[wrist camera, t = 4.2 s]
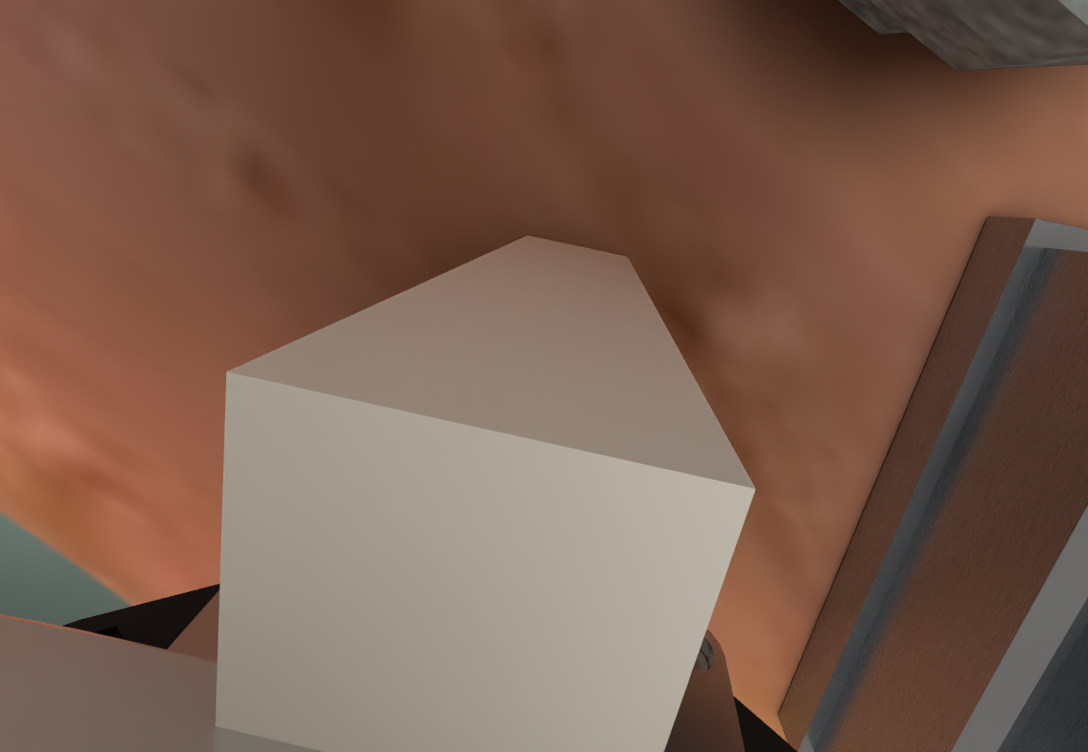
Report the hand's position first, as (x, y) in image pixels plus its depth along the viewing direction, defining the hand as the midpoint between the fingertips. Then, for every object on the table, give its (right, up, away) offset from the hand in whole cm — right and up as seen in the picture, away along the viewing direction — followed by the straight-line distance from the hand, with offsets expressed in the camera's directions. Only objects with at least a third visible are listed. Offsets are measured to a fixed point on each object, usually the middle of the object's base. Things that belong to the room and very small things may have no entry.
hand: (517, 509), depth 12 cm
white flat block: (0, +1, +4) cm, 4 cm away
